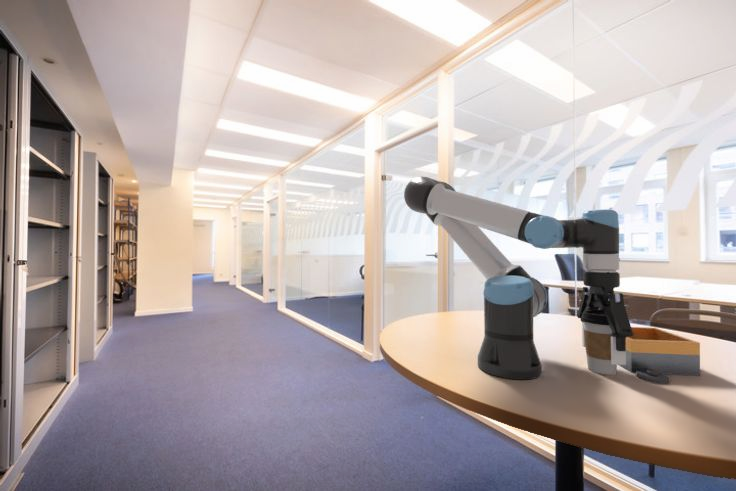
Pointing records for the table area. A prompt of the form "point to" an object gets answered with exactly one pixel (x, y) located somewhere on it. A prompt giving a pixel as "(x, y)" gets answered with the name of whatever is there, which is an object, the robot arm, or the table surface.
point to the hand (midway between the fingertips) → (602, 354)
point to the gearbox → (661, 352)
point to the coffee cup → (598, 342)
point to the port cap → (652, 376)
